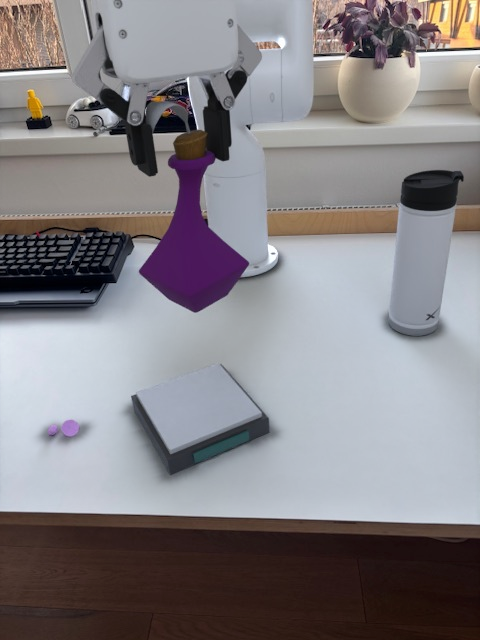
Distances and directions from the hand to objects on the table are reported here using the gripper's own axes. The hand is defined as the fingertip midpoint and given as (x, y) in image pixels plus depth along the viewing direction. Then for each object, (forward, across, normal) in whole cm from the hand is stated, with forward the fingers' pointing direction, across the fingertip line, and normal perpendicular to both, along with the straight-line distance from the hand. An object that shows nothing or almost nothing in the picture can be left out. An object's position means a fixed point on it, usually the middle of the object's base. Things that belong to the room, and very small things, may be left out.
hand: (183, 162), depth 45 cm
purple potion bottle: (+13, 0, 0) cm, 13 cm away
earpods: (+27, +15, -5) cm, 32 cm away
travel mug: (+27, -30, -1) cm, 40 cm away
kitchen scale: (+27, +2, +1) cm, 27 cm away
